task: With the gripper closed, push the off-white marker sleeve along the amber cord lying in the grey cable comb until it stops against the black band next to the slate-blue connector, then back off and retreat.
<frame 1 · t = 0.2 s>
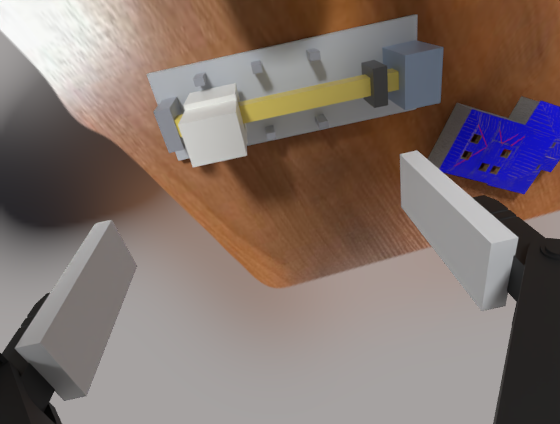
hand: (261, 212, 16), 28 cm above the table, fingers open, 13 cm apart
comb rig: (288, 91, 40), on the table
sleeve: (216, 124, 35), point 7 cm above the table, slide at 0.0 cm
house: (493, 134, 46), on the table
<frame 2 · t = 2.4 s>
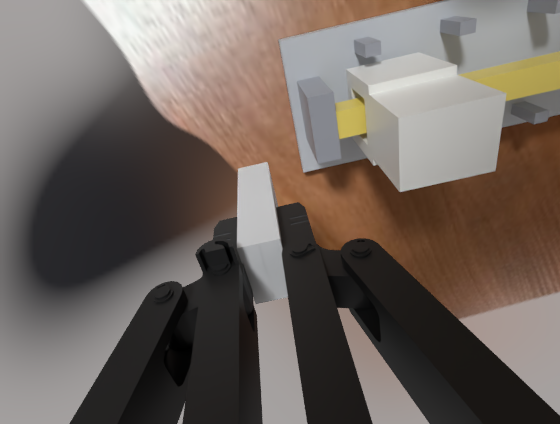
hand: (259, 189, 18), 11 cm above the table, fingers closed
comb rig: (478, 66, 27), on the table
sleeve: (410, 117, 21), point 7 cm above the table, slide at 0.0 cm
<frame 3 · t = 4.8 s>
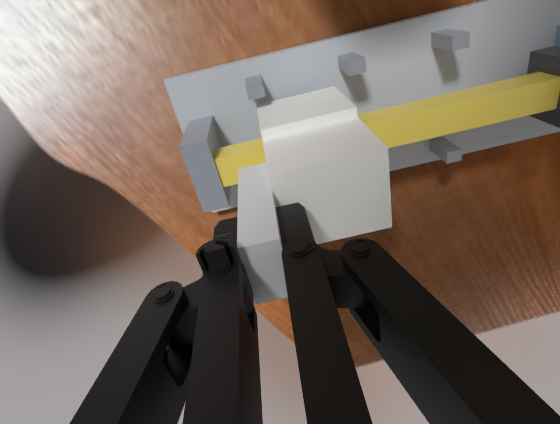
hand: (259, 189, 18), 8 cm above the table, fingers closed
comb rig: (390, 102, 25), on the table
sleeve: (314, 160, 19), point 7 cm above the table, slide at 1.3 cm, touching gripper
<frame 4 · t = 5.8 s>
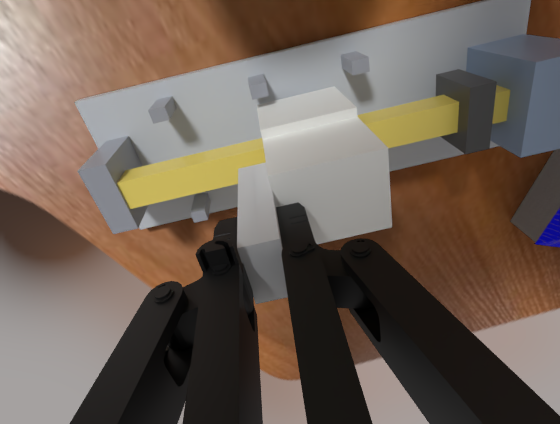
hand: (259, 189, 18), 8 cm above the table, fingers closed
comb rig: (310, 121, 25), on the table
sleeve: (314, 161, 19), point 7 cm above the table, slide at 7.1 cm, touching gripper
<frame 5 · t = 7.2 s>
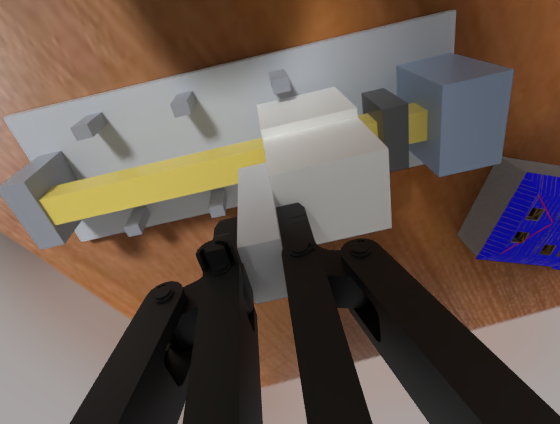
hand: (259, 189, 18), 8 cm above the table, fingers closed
comb rig: (245, 136, 25), on the table
sleeve: (314, 161, 19), point 7 cm above the table, slide at 11.8 cm, touching gripper
house: (554, 191, 31), on the table
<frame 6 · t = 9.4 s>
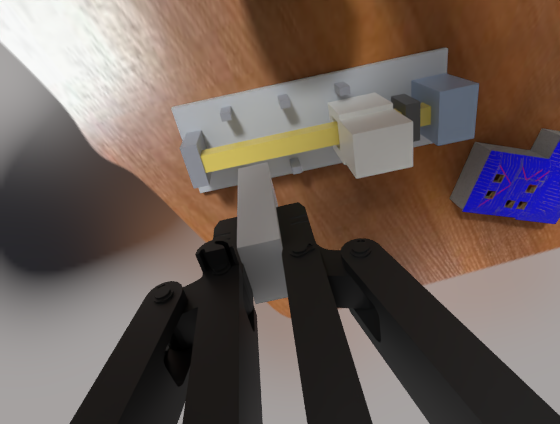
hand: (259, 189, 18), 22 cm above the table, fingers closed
comb rig: (314, 123, 39), on the table
sleeve: (366, 134, 34), point 7 cm above the table, slide at 11.9 cm
house: (515, 167, 45), on the table
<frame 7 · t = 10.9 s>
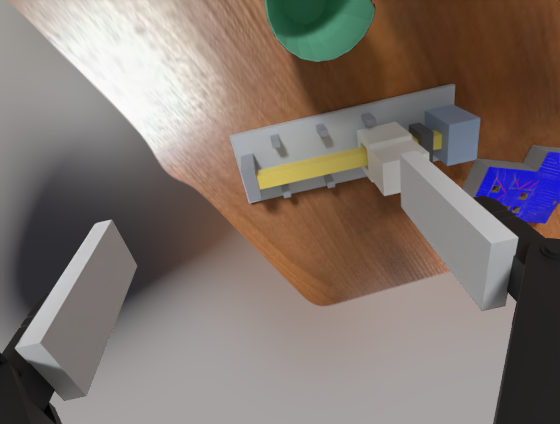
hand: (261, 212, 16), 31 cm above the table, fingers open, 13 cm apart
comb rig: (344, 145, 48), on the table
sleeve: (390, 158, 42), point 7 cm above the table, slide at 11.9 cm
house: (511, 176, 53), on the table
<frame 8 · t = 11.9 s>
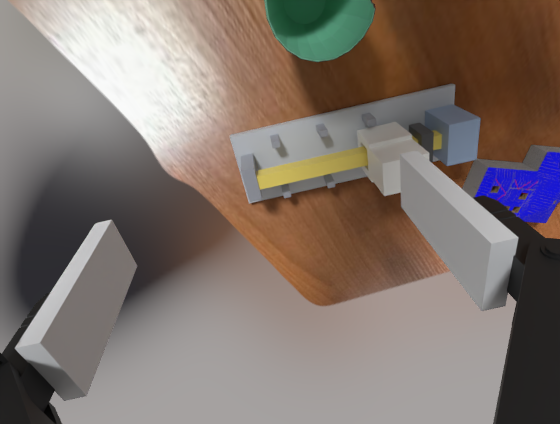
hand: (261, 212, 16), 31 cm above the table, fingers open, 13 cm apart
comb rig: (344, 145, 48), on the table
sleeve: (390, 158, 42), point 7 cm above the table, slide at 11.9 cm
house: (510, 176, 53), on the table
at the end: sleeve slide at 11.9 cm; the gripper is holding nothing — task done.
